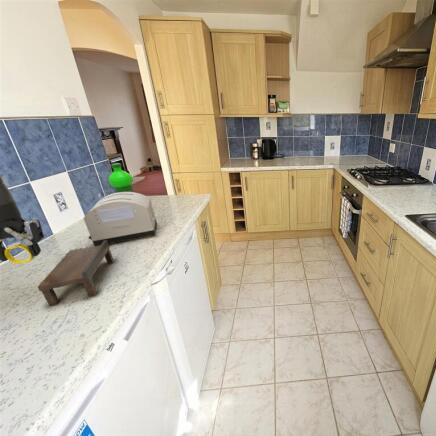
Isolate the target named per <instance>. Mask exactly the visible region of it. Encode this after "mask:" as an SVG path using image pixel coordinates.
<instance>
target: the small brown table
mask: <svg viewBox="0 0 436 436" xmlns="http://www.w3.org/2000/svg"><path fill="white" fill-rule="evenodd" d="M110 248H111V247H110V244H108V241H107V240H105V241H103V243H102V244H101V245H99V246H94V245H93V246H88V247H82V248H77V249H70V250H69V251H68V252H67V253H66V254H65V255H64V256H63V258H61V260H59V262H58V263H57V264H56V265H55V267H53V269H52V270H51V271H50V272H49V274H47V275H46V277H45V278H43V280H42V281H41V282H40V283H39V284H38V285H37V290H38V291H39V292H41V293H42V295H43V297H44V299H45V300H46V302H47V304H48V306H49V307H52V306H56V305H58V304H59V302H60V299H59V297H58V295H57V293H56V291H55V289H58V288H62V287H68V286H72V285H76V284H81V283H82V285H83V288H84V289H85V292H86V293H87V296H88V297H89V298H92V297H95V296H97V294H98V291H97V288H96V285H95V283H94V281H93V279H92V278H93V277H94V274H95V273H96V271H97V270H98V268H99V266H100V265H101V263H102V261H103V260H104V259H105V261H106V264H107V265H109V264H114V262H115V260H114V256H113V255H112V251H111V249H110Z"/></svg>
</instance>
